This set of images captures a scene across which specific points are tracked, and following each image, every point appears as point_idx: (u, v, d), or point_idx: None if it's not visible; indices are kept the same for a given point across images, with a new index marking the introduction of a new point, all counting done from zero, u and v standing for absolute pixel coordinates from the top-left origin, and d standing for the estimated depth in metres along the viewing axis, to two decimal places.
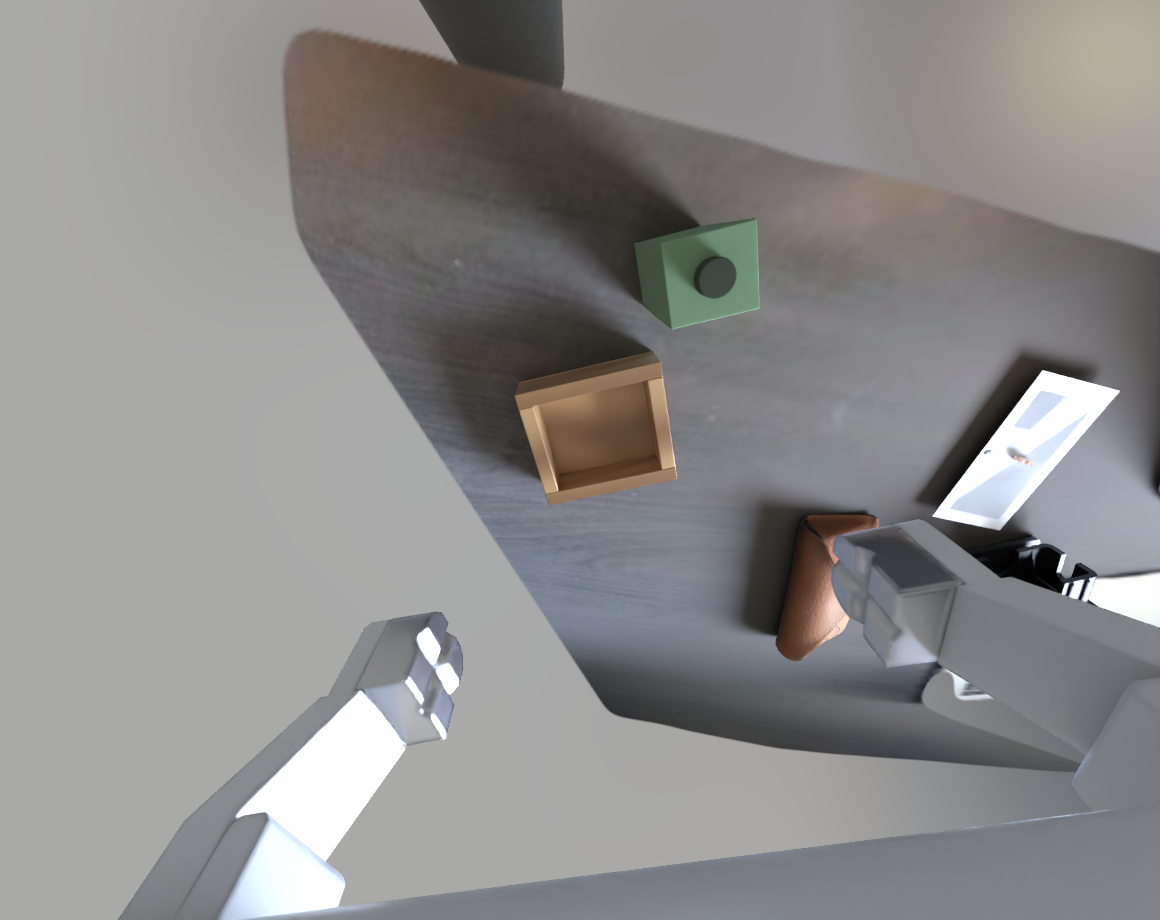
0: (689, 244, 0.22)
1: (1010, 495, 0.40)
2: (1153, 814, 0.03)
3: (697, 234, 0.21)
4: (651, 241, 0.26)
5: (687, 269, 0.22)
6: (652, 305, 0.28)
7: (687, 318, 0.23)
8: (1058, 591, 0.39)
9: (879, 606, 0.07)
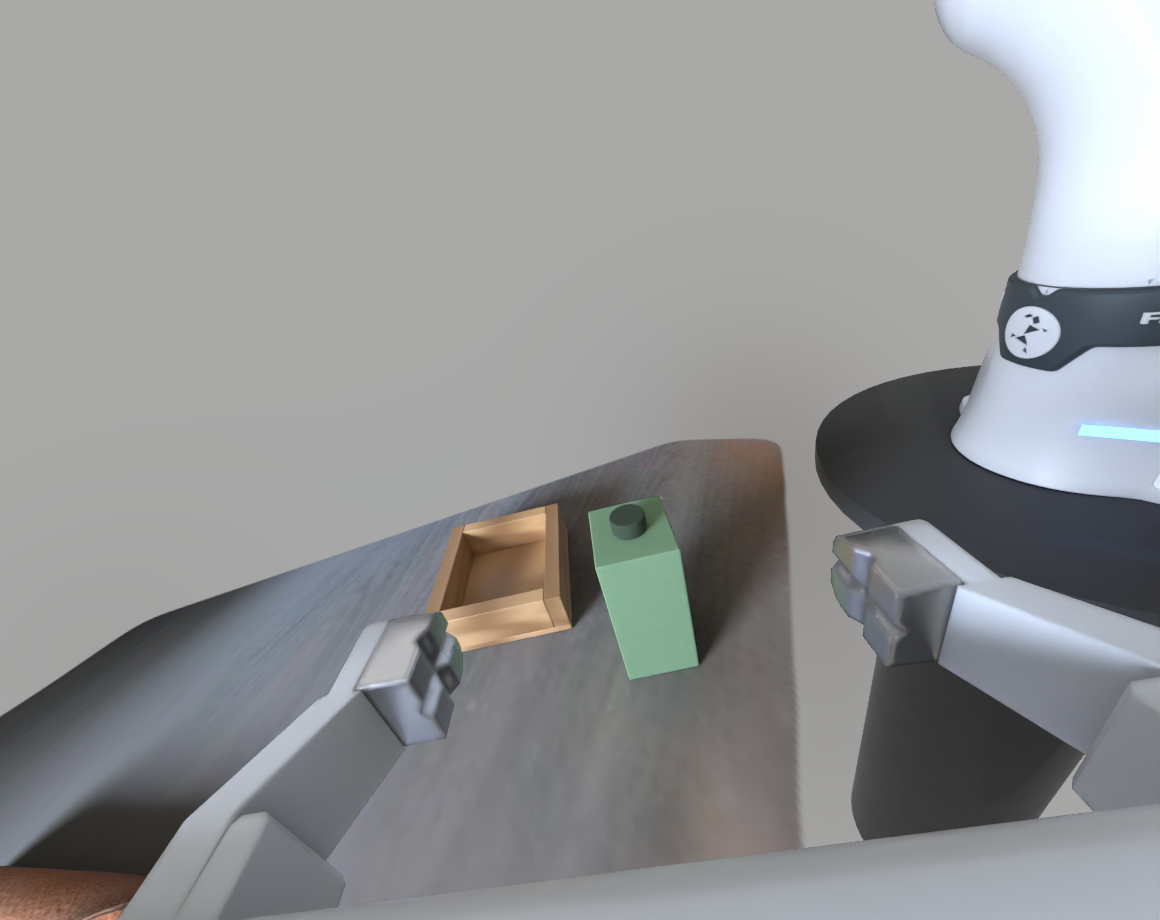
0: (657, 510, 0.24)
1: None
2: (1153, 814, 0.03)
3: (665, 513, 0.24)
4: None
5: None
6: None
7: (595, 519, 0.25)
8: None
9: (879, 606, 0.07)
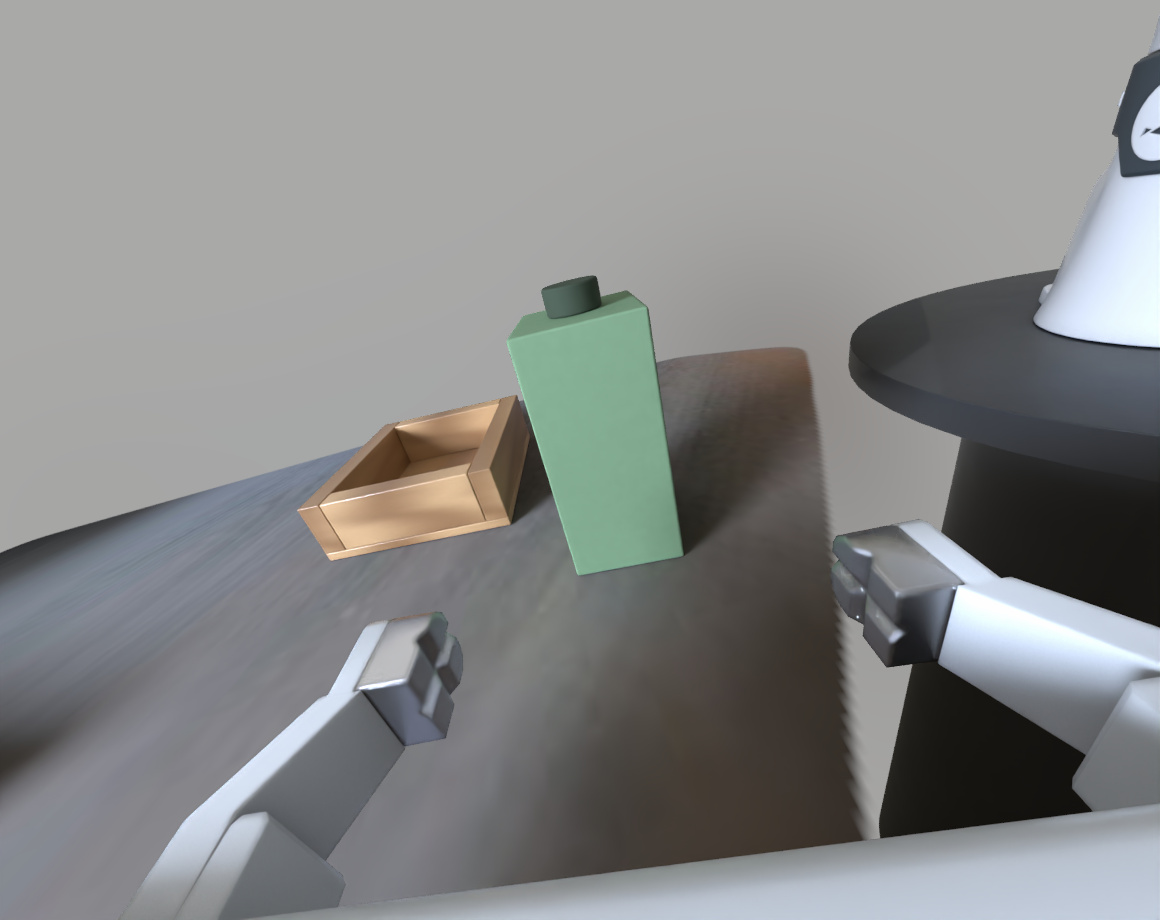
0: (621, 296, 0.16)
1: None
2: (1153, 814, 0.03)
3: (632, 295, 0.15)
4: None
5: None
6: None
7: (529, 316, 0.16)
8: None
9: (879, 606, 0.07)
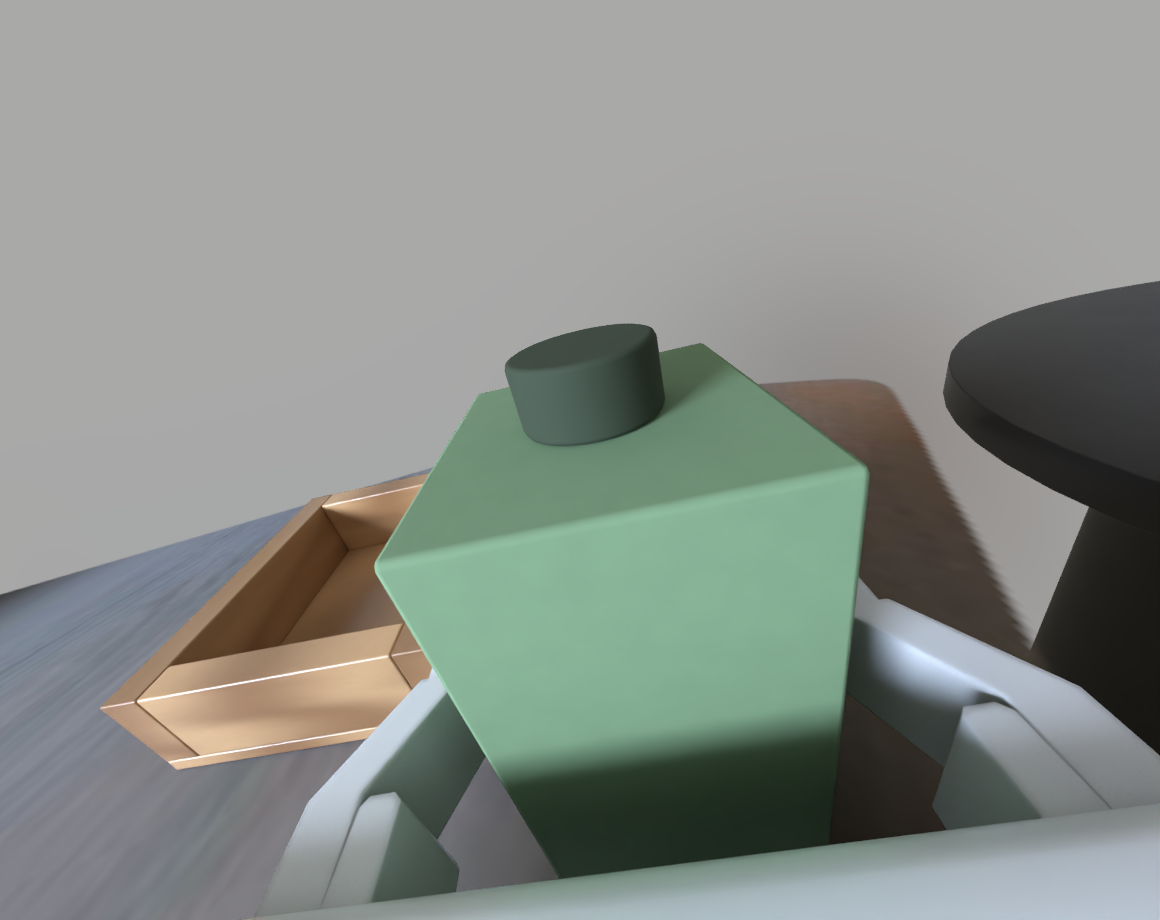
0: (702, 366, 0.07)
1: None
2: (1153, 814, 0.03)
3: None
4: None
5: None
6: None
7: (487, 404, 0.07)
8: None
9: None
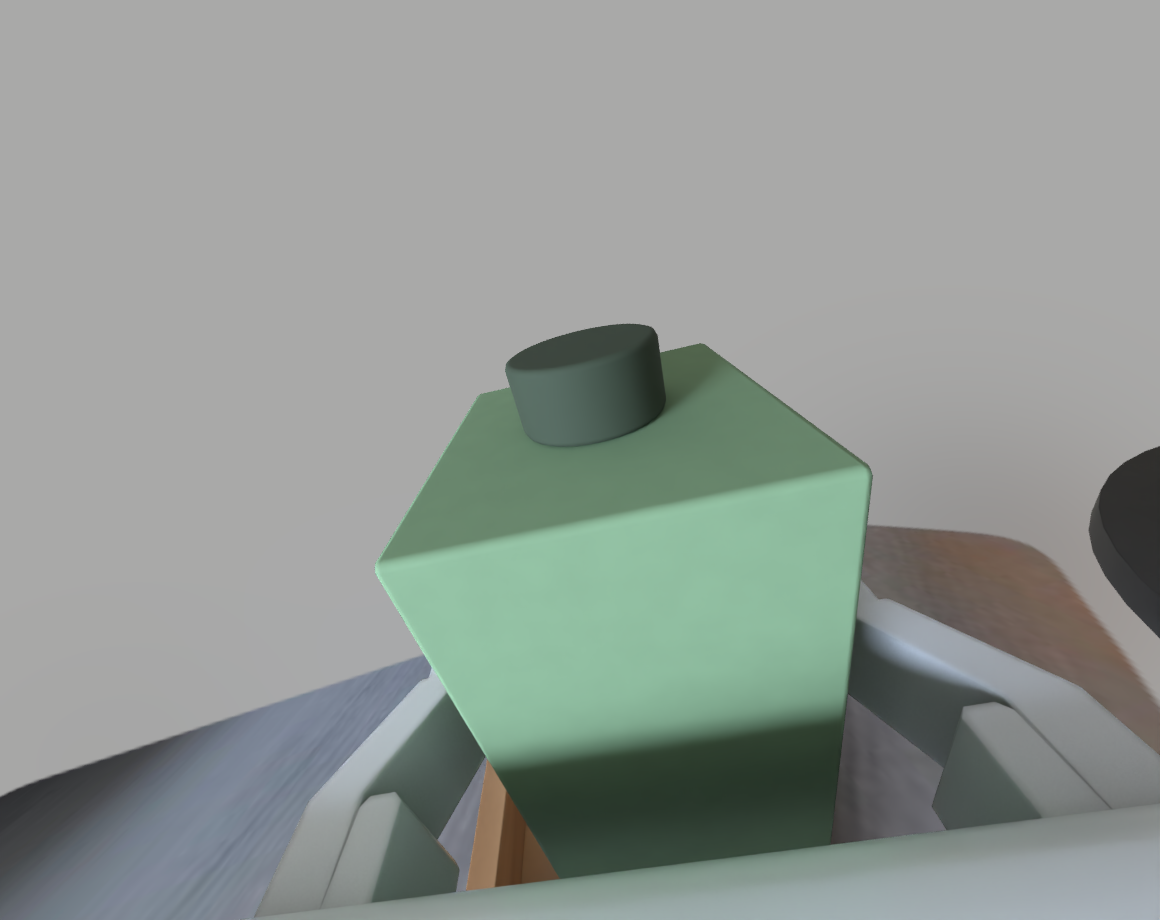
0: (704, 366, 0.07)
1: None
2: (1153, 814, 0.03)
3: None
4: None
5: None
6: None
7: (488, 405, 0.07)
8: None
9: None
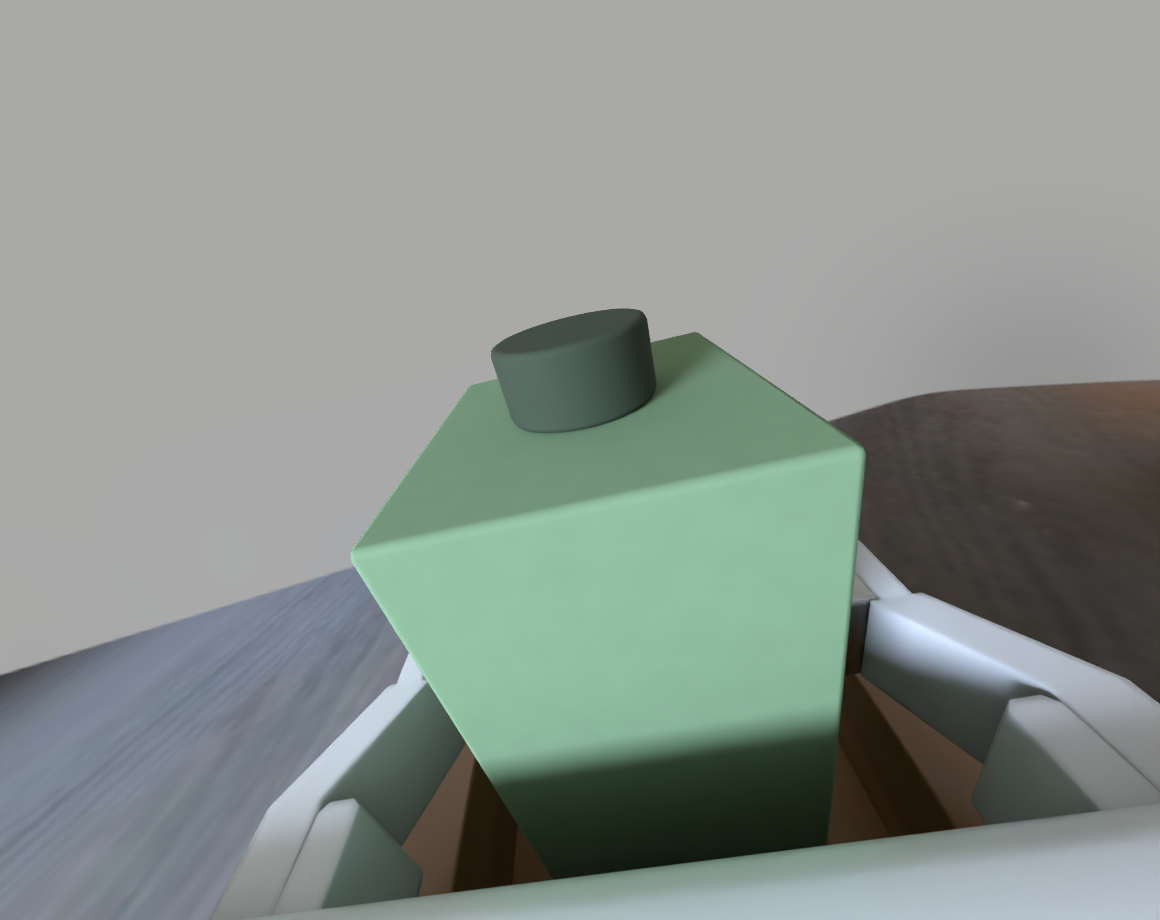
0: (696, 354, 0.06)
1: None
2: (1154, 814, 0.03)
3: (730, 355, 0.06)
4: None
5: None
6: None
7: (477, 395, 0.07)
8: None
9: None
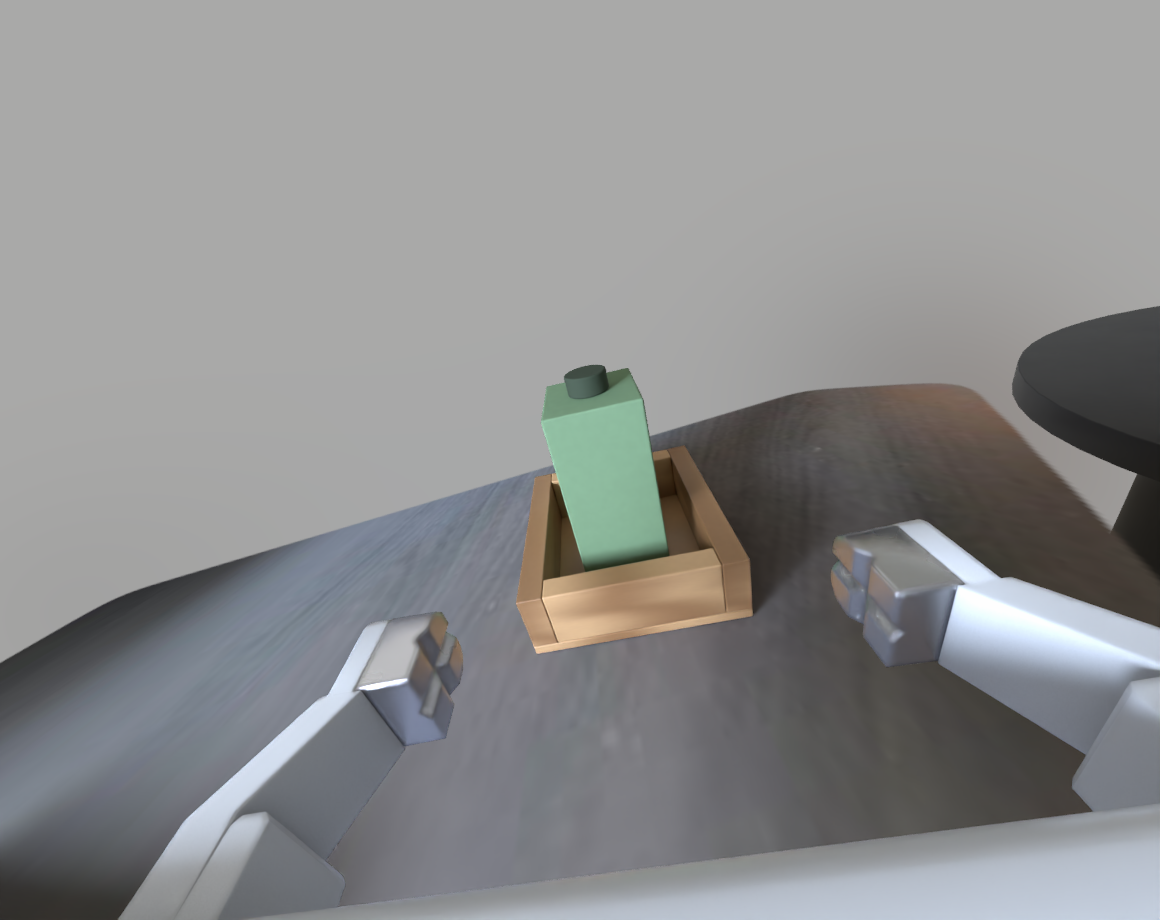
0: (623, 377, 0.21)
1: None
2: (1153, 814, 0.03)
3: (632, 377, 0.20)
4: None
5: None
6: None
7: (552, 389, 0.21)
8: None
9: (879, 606, 0.07)
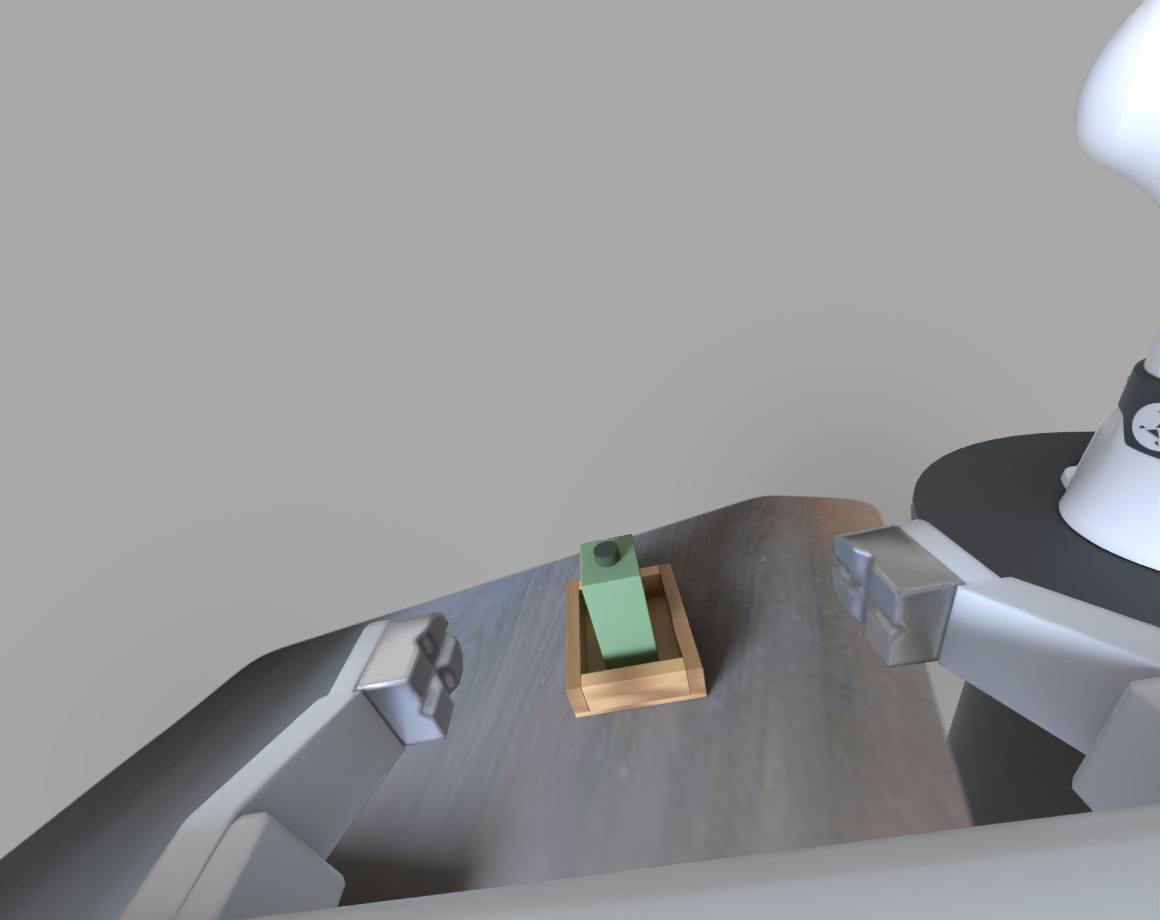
0: (628, 546, 0.33)
1: None
2: (1153, 814, 0.03)
3: (634, 548, 0.33)
4: None
5: None
6: None
7: (584, 550, 0.34)
8: None
9: (879, 606, 0.07)
